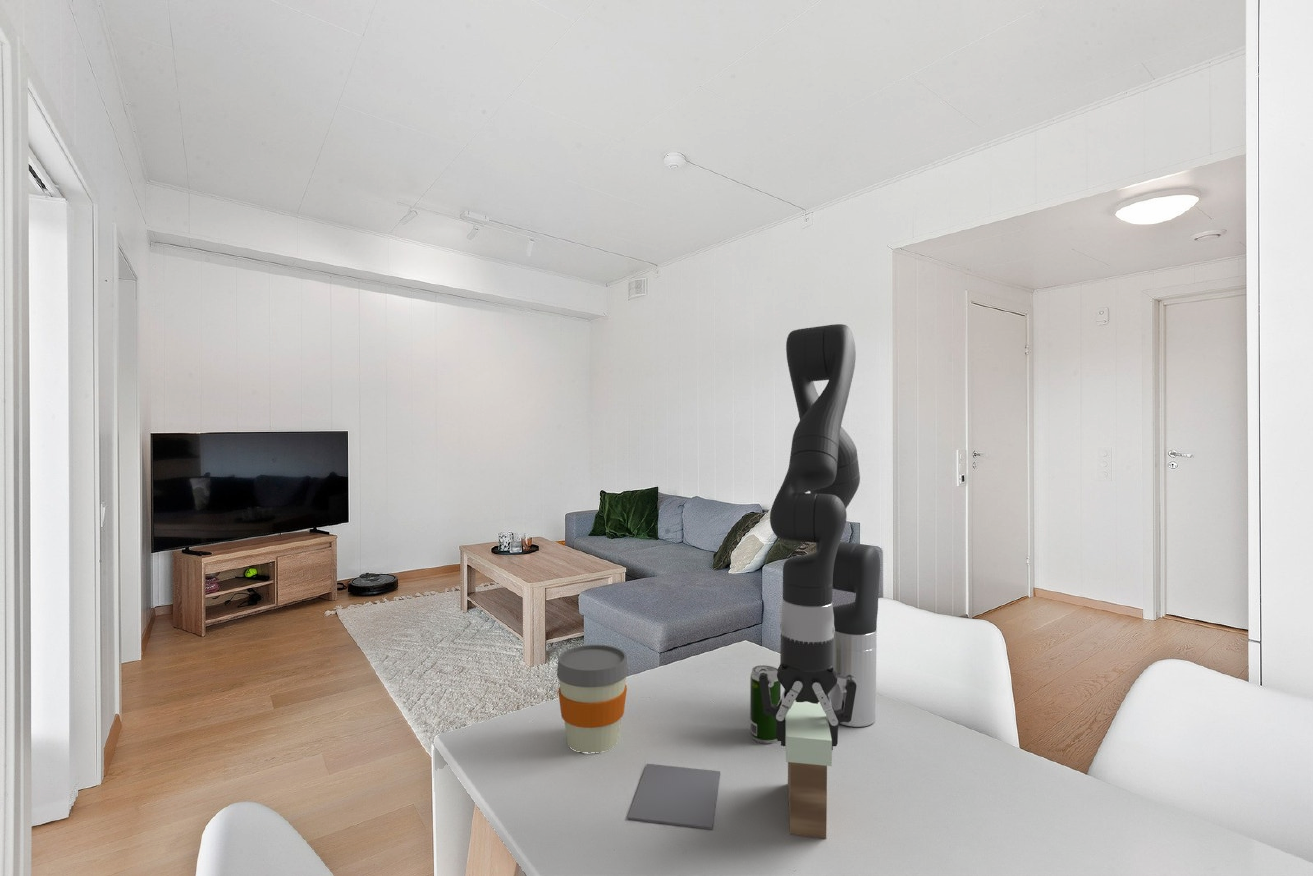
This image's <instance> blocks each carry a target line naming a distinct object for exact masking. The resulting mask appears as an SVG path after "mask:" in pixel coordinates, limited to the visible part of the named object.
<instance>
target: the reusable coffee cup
mask: <svg viewBox="0 0 1313 876" xmlns="http://www.w3.org/2000/svg"><path fill="white" fill-rule="evenodd" d="M627 657H628V656H627V653H626V651H624V650H623V649H621V648H619V647H616V646H612V645H609V644H608V645H607V644H606V645H605V644H587V645H586V644H585V645H579V646H575V647H571V648H569V649H567V650H564V651H563V652H561V653H560V654H559V656H558V660H557V662H558V663H557V669H556V677H557V679H558V681H559V687H558V700H559V708H560V714H561V715H560V716H561V719H562V720H563V721H564V727H565V735H566V743H568V744H567V746H568V747H569V746H570V747H571V748H572V749H574V750H576V751H580V752H588V753H591V752H595V753H596V752H602V751H606V750H609V749H611V748H612V747H613V746H615V745H616V746H617V744H618V741H619V737H620V736H619V735H620V727H621V720H622V717H623V716H624V713H625V705H626V699H627V697H626V696H627V690H628V687H627V684H626V679H627V676H628V675H629V665H628V658H627ZM616 743H617V744H616ZM616 746H615V747H616ZM572 749H571V750H572ZM612 749H613V748H612ZM612 749H611V750H612ZM609 751H610V750H609ZM606 752H607V751H606Z"/></svg>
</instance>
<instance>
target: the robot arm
mask: <svg viewBox="0 0 1313 876" xmlns="http://www.w3.org/2000/svg"><path fill="white" fill-rule="evenodd" d="M785 350H786V362H787V367H788V371H789V376H790V377H789V378H790V381H791V386H792V390H793V394H794V398H795V403H796V407H797V412H798V417H799V420H798V421H799V422H798V423H797V425H796V427H795V428H794V432H793V434H792V440H791V449H790V456H789V464H788V469H787V472H786V474H785V477H784V480H783V482H782V484H781V486H780V489H779V490H778V492H777V494H776V496H775V498H774V501H773V503H772V505H771V509H770V512H769V513H770V514H769V524H770V527H771V530H772V532H773V534H774V535H775V537H777V538H778V539H780V540H782V541H786V542H798V543H814V544H815V548H816V549H815V550H816V552H815V553H812V554H808V555H807V554H806V555H802V556H801V555H800V556H794V557H791V558H788V559H786V561H784V563H783V566H782V567H783V569H782V602H781V608H780V623H779V628H780V646H779V647H780V650H779V651H780V655H779V656H780V657H779V658H780V662H779V663H780V664H779V665H778V668H777V671H767V670H766V669H761V670H760V671H759V683H760V690H761V698H762V705H763V712H764V714H765V715H766V716H773V717H774V718H775V719H776V739H777V742H780V746H781V747H786V745H785V732H786V721H785V716H786V714H787V712H788V711H789V709H790V708H791V707H792V705H793V703H794V701H795V700H796V702H810V703H814V704H818V702H820V704H821V706H822V708H823V711H824V712H825V714H826V716H827V718H828V723H829V728H830V733H831V739H832V751H833V749H834V747H837V746H838V742H839V741H838V738H839V733H838V732H839V730H838V729H839V725H843V726H848V727H855V728H858V727H859V728H860V727H867V726H870V725H872V724H874V723H875V721H876V719H877V717H876V714H877V712H876V711H877V710H876V709H877V707H876V706H877V634H878V633H877V632H878V630H877V629H878V627H877V625H878V624H877V621H878V611H879V591H880V579H881V578H880V577H881V559H880V554H879V552H878V550H877V548H876V547H875V546H873V545H868V544H862V543H854V542H846V541H842V536H843V534H844V531H845V527H846V523H847V520H848V519H847V518H848V517H847V516H848V515H847V507H848V506H849V505H850V503H851V501H852V500H853V498H854V496H855V495H856V493H857V491H858V489H859V486H860V484H861V483H860V482H861V476H860V475H861V474H860V467H859V459H858V458H859V457H858V450H857V446H856V445H855V442H854V441H853V439H852V438H851V436H850V435H849V433H847V431H846V430H845V429H844V428H843V427H842V423H843V419H844V414H845V411H846V406H847V403H848V398H849V395H850V391H851V387H852V382H853V378H854V372H855V368H856V359H857V358H856V357H857V355H856V350H857V349H856V342H855V337H854V334H853V332H852V330H851V328H850V327H849V326H848V325H847V324H842V323H839V324H838V323H837V324H829V325H828V324H826V325H821V326H813V327H812V326H811V327H805V328H798V329H794V330H792V331H791V332H789V333H788V336H787V337H786V345H785ZM819 381H828V382H827V384H826V386H825V387H824V389H823V390H822V392H821V394H820V395H819V394H818V391H817V389H816V386H815V383H814V382H819ZM808 492H810V493H808ZM833 590H836V591H841V592H842V591H843V592H848V593H853V594H855V599H854V601H853V602H850V603H846V604H840V605H835V606H833ZM776 679H778V680H779V682H780V683H781V686H782V687H783V689H784V691H783V693H781V699H780V701H779V703H778V705H775V704H773V703H772V702H771V695H770V687H773V685H774V681H775V680H776Z"/></svg>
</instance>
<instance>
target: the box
mask: <svg viewBox="0 0 1313 876" xmlns="http://www.w3.org/2000/svg"><path fill="white" fill-rule="evenodd" d="M827 787H828V766H824V765H814V764H804V763H794V762H787V793H788V794H787V797H788V798H787V799H788V814H789V816H788V817H789V819H788V820H789V834H790V835H794V836H795V835H796V836H804V837H811V838H817V839H819V838H820V839H827V817H828V816H827V813H828V811H827V810H828V809H827V804H828V798H827V797H828V795H827V794H828V788H827Z"/></svg>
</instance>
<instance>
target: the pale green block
mask: <svg viewBox="0 0 1313 876" xmlns="http://www.w3.org/2000/svg"><path fill="white" fill-rule="evenodd" d="M785 721H786V732H785V745H786V746H785V762H787V763H788V762H794V763H804V764H814V765H824V766H827V767H832V765H833V763H832V762H833V760H832V759H833V756H832V755H833V750H832V739H831V733H830V728H829V723H828V718H827V716H826V714H825V712H824V711H823V708H822V706H821V704H820V702H818V704H814V703H810V702H796V700H795V701H794V703H793V705H792V707H791V708H790V709H789V711H788V712H787V714H786V716H785Z"/></svg>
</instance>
